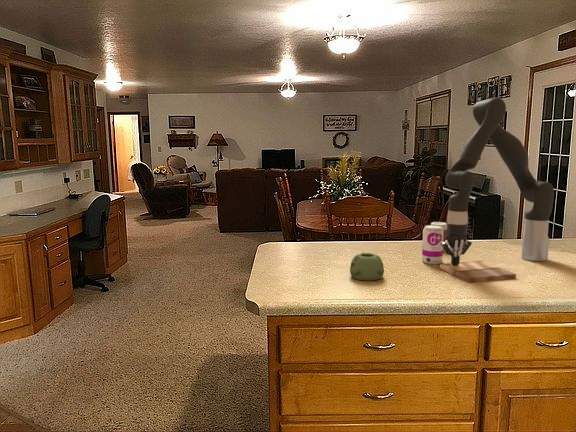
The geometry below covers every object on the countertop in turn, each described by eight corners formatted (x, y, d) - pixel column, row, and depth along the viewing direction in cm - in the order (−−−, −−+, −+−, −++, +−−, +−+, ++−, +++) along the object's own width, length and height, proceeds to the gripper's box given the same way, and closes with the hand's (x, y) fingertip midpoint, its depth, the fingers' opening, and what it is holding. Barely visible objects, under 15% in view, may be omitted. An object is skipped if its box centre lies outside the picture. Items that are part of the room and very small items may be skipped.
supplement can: (443, 264, 198) (444, 229, 195) (422, 263, 199) (423, 228, 197) (441, 259, 206) (442, 225, 203) (421, 259, 207) (422, 224, 205)
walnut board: (499, 271, 187) (499, 267, 187) (515, 278, 179) (516, 273, 178) (454, 275, 182) (454, 271, 182) (469, 282, 174) (469, 278, 173)
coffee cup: (424, 246, 231) (425, 221, 229) (443, 245, 232) (444, 221, 230) (432, 250, 222) (433, 225, 220) (451, 250, 223) (452, 224, 221)
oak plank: (483, 264, 196) (483, 260, 196) (498, 271, 188) (498, 267, 188) (440, 267, 191) (440, 263, 191) (453, 275, 183) (453, 271, 183)
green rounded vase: (387, 281, 175) (388, 258, 174) (352, 282, 175) (352, 259, 174) (378, 270, 191) (378, 248, 190) (345, 270, 191) (346, 249, 189)
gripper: (466, 219, 192) (463, 261, 195) (436, 221, 189) (434, 264, 192) (478, 222, 185) (475, 266, 188) (447, 224, 182) (445, 269, 185)
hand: (455, 265), depth 190 cm, fingers closed
